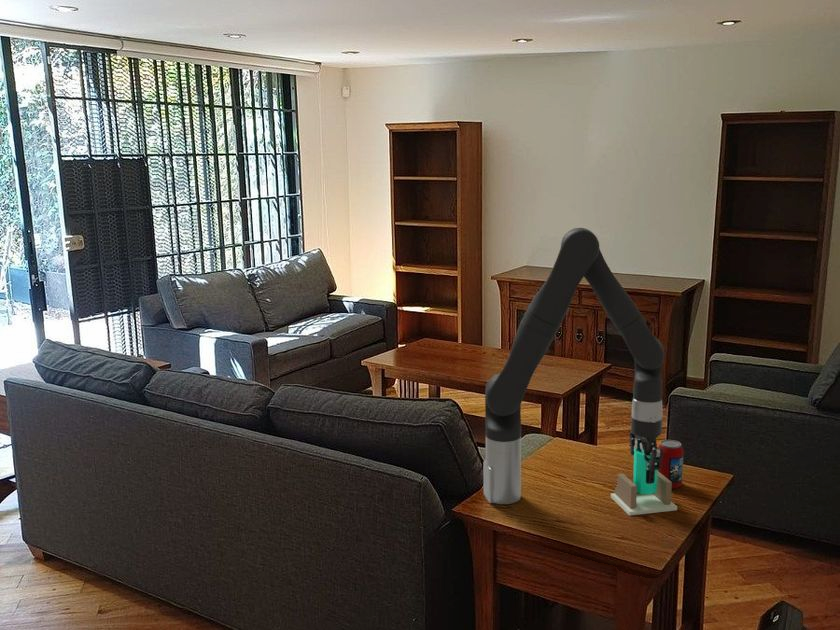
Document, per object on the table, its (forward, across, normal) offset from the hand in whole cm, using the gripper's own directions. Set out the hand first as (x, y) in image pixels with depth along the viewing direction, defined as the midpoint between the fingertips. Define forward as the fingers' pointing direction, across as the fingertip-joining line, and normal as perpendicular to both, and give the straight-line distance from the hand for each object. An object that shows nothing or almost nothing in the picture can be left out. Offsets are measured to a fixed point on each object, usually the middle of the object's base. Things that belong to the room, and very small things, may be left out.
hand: (644, 478), depth 205 cm
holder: (+7, 0, 0) cm, 7 cm away
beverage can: (+7, -9, +12) cm, 17 cm away
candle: (+3, 0, 0) cm, 3 cm away
